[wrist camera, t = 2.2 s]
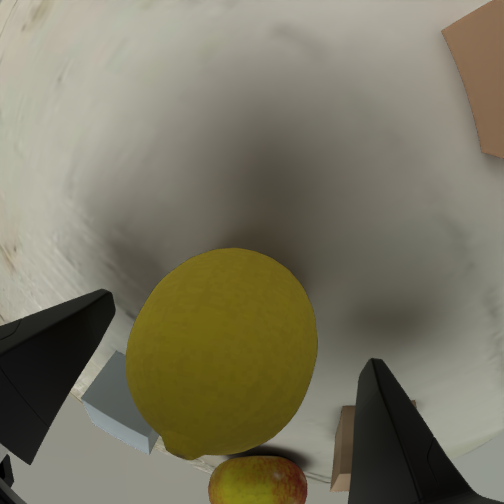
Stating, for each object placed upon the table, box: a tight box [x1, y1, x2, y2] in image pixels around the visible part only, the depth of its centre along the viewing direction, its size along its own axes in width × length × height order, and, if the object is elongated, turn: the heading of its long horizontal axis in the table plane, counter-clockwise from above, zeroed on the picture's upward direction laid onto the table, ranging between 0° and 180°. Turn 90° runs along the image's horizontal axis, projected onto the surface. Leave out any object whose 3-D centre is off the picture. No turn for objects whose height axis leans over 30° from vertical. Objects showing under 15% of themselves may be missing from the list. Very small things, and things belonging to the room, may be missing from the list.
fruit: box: [208, 456, 307, 504], centre depth 17 cm, size 10×9×8 cm
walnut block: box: [330, 400, 417, 492], centre depth 13 cm, size 5×5×5 cm
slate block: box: [81, 351, 159, 455], centre depth 16 cm, size 5×5×5 cm
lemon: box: [125, 248, 318, 460], centre depth 8 cm, size 6×6×8 cm
